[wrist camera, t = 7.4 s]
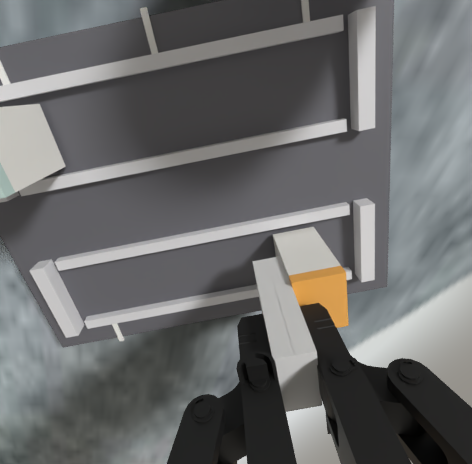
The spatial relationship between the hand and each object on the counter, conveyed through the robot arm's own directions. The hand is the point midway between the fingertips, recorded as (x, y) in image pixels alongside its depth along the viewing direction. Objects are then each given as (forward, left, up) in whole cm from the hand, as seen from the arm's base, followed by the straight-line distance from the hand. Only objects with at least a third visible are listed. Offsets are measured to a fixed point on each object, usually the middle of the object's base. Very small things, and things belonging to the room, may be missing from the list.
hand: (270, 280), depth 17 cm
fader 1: (-10, +9, -2) cm, 14 cm away
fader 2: (+2, 0, -2) cm, 3 cm away
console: (-3, +5, -5) cm, 7 cm away
